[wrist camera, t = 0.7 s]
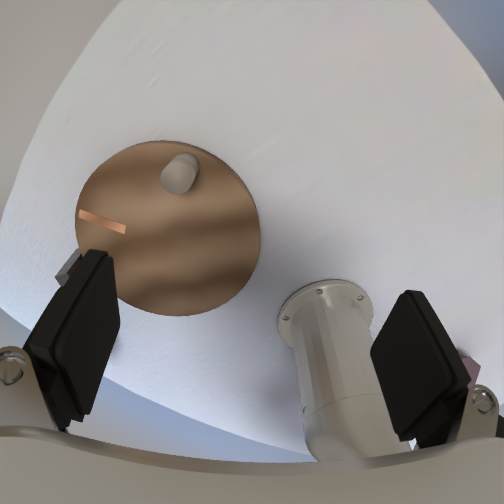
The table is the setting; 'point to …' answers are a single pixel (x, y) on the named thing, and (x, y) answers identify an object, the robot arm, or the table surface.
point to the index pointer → (69, 267)
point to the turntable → (170, 227)
